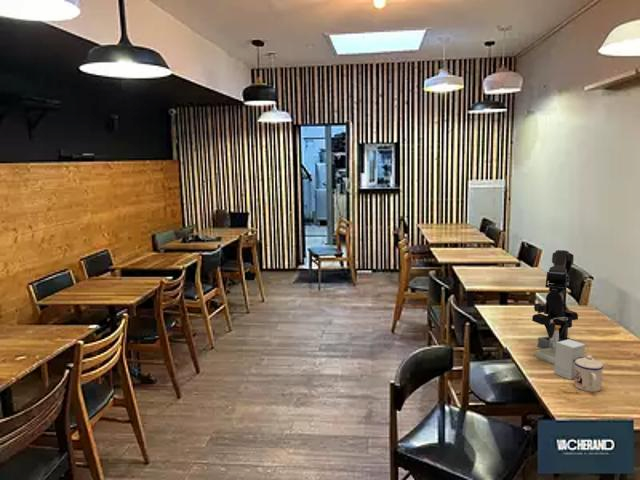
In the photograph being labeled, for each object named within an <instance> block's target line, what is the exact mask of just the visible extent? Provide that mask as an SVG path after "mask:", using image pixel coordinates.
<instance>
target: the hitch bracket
mask: <svg viewBox="0 0 640 480" xmlns="http://www.w3.org/2000/svg"><path fill="white" fill-rule="evenodd" d="M549 341H550V338H549V336H548V335H547V336H542V337H538V338H537V347H538V348H540V349H542V348H543V349H546V348H549ZM560 341H564V340H563V339H560V338H559V342H560Z"/></svg>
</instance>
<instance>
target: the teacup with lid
mask: <svg viewBox="0 0 640 480" xmlns="http://www.w3.org/2000/svg"><path fill="white" fill-rule="evenodd" d="M603 368H604V364H603V363H602V362H601V361H599V360H596V358H593V356H592V355H589V354H587V355H585V356H584V358H579V359H577V360H576V361H575V378H574V379H573V381H574V383H573V385H574V386H575V387H576V388H577V389H578V390H581V391H584V392H591V393H595V392H600V391H601V390H602V383H603V382H602V381H603Z"/></svg>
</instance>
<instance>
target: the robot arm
mask: <svg viewBox="0 0 640 480" xmlns="http://www.w3.org/2000/svg"><path fill="white" fill-rule="evenodd" d="M574 259H575V257H574V254H572V253H570V252H569V251H568V250H561V249H557V250H555V252H553V253H552V257H551V264H553V266H550V267H549V269H548V271H547V272H546V277H545V278H546V279H545V280H546V281H545V286H544V287H545V288H547V289H548V293H547V294H546V296H545V303H544V304H542V303H534V305H533V308H534V309H533V310H534V312H537V314H533V315H532V316H531V317H532V318H531V319H532V320H531V321H532V322H534V323H537V324H539V325H543V326H544V327H545V330H546V333H547V336H549V338H552V336H553V332H554V328H555V323H559V324H561V328H559V338H560V339H563V340H568V339H569V340H571V338H570V337H568V333H569V329H570V328H572V327H573V321H575V320H576V321H577V320H579V313H578V312H576V311H574V310H572V309H571V310H570V309H569V307H568V305H567V289H568V288H569V285H570V276H569V272H570V271H571V269H572V266H573V265H574V262H575V261H574Z"/></svg>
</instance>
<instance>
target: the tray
mask: <svg viewBox="0 0 640 480" xmlns="http://www.w3.org/2000/svg"><path fill="white" fill-rule="evenodd" d="M555 354H556V349H551V348H546V349H542V348H540V349H537V350H536V349H535V350H534V357H536V358H537V359H540V360H542V361H544V362H545V363H549V364H550V365H554V366H555Z"/></svg>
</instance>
